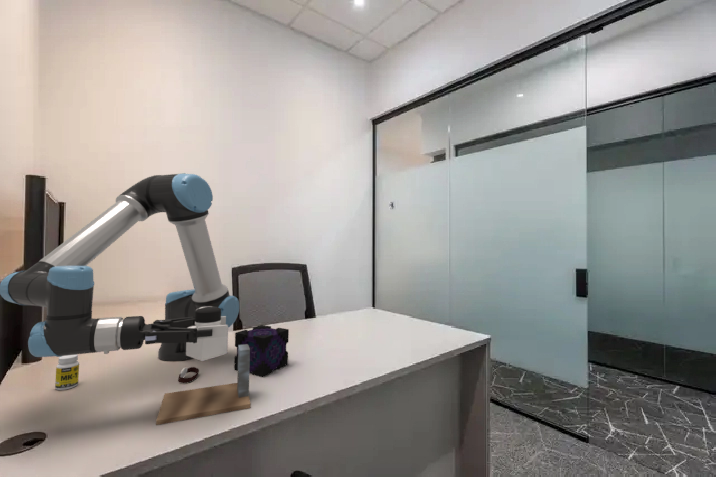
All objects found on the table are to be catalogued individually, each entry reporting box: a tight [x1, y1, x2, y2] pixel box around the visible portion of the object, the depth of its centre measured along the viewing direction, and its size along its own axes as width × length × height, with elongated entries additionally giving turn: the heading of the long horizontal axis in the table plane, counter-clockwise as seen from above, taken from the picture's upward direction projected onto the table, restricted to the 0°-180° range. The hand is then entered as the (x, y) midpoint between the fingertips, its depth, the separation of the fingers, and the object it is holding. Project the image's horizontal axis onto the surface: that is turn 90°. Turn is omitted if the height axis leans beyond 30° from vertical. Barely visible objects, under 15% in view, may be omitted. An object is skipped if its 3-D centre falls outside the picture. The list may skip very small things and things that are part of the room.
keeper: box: [155, 344, 252, 426], centre depth 82 cm, size 20×14×13 cm
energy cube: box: [233, 324, 290, 378], centre depth 106 cm, size 12×12×12 cm
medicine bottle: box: [186, 306, 229, 362], centre depth 82 cm, size 7×7×12 cm
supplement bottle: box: [54, 354, 80, 391], centre depth 89 cm, size 5×5×8 cm
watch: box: [177, 366, 200, 384], centre depth 96 cm, size 8×5×4 cm, turn 179°
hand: (226, 325), depth 84 cm, fingers closed on medicine bottle, 10 cm apart
